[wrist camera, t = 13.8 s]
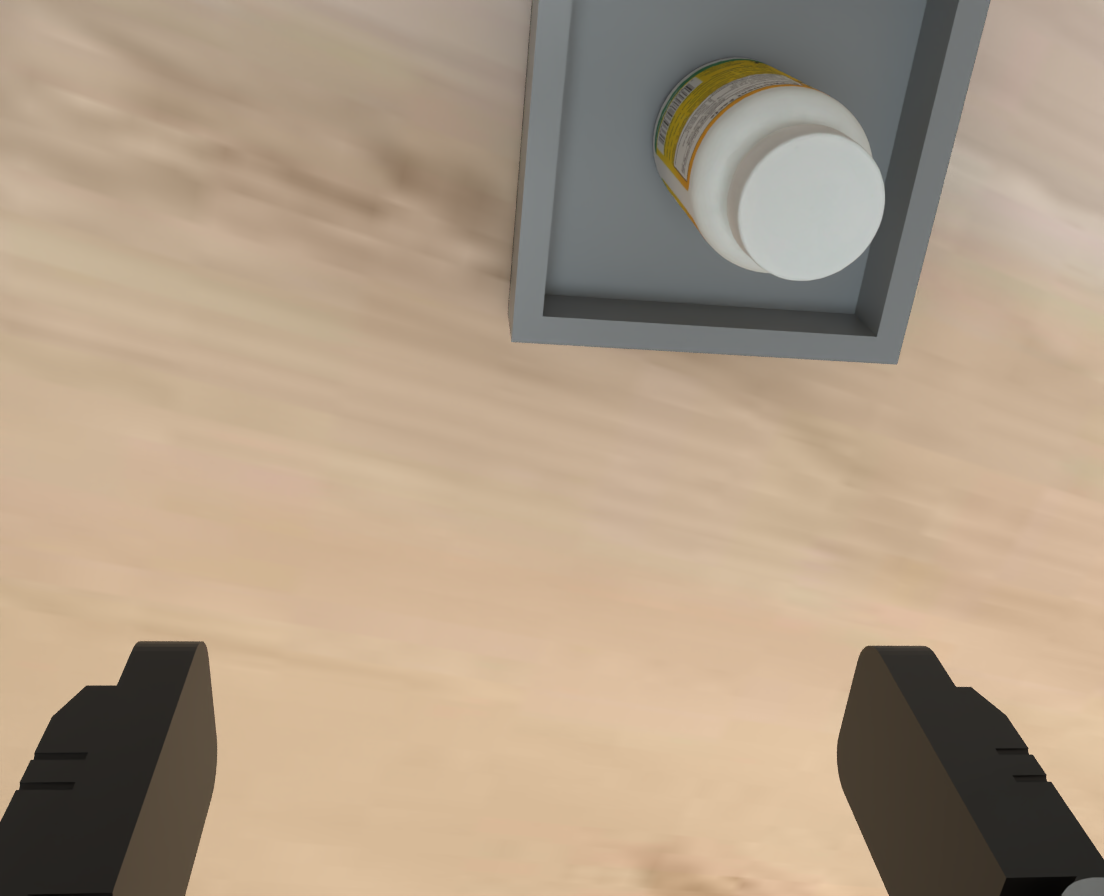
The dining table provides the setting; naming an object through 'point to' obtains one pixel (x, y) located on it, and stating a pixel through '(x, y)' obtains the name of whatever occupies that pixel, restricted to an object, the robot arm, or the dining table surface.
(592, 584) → the dining table surface
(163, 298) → the dining table surface
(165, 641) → the robot arm
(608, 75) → the tray
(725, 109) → the supplement bottle
